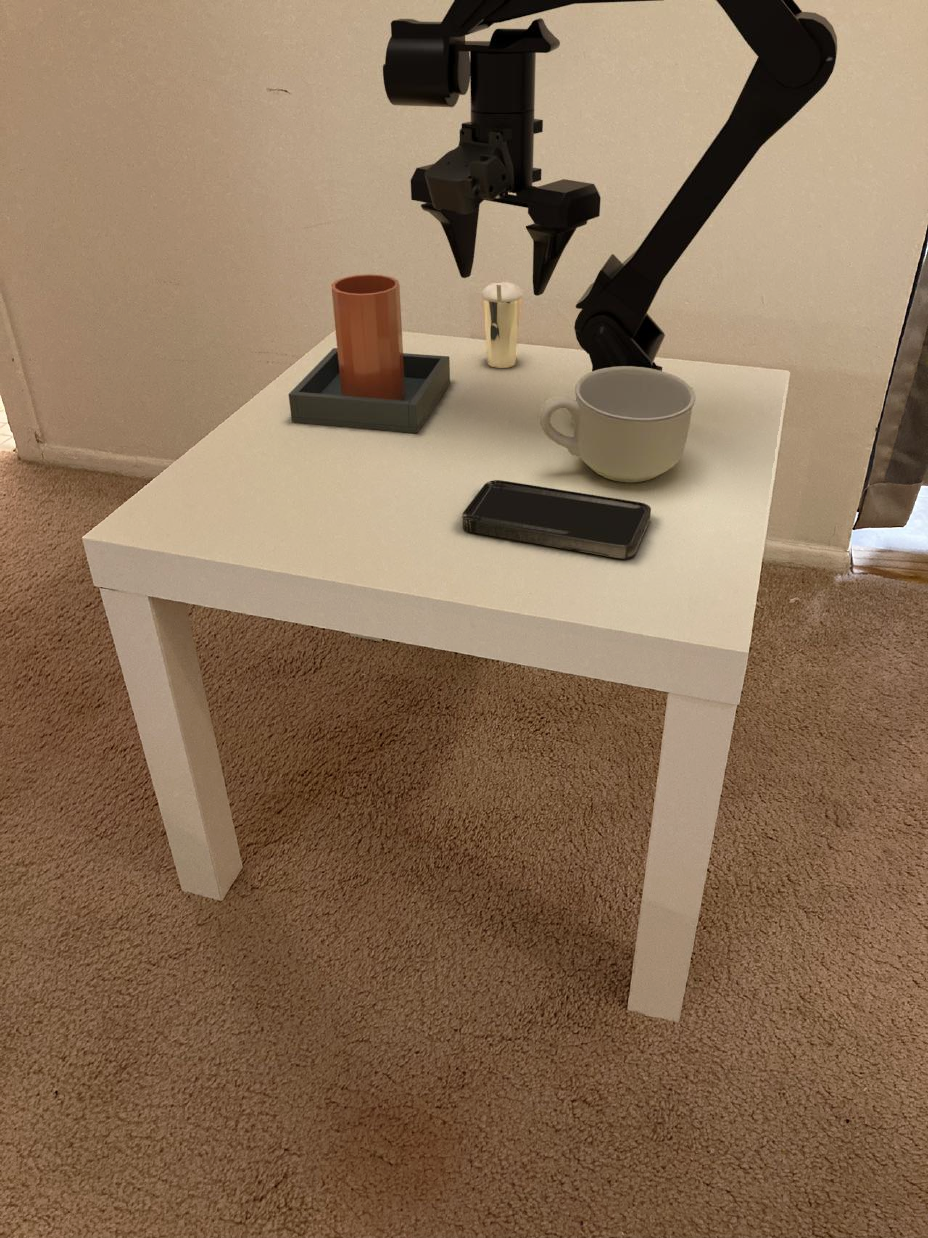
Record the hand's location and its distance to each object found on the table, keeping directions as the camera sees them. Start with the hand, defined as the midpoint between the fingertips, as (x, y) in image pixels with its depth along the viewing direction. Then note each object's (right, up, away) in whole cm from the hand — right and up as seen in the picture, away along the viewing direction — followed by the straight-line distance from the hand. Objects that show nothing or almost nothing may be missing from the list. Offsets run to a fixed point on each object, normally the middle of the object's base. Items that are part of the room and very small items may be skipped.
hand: (501, 285), depth 97 cm
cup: (-13, -9, +9) cm, 19 cm away
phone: (+4, -25, -12) cm, 28 cm away
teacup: (+10, -19, -4) cm, 22 cm away
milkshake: (+1, -3, +18) cm, 18 cm away
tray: (-13, -9, +10) cm, 19 cm away
